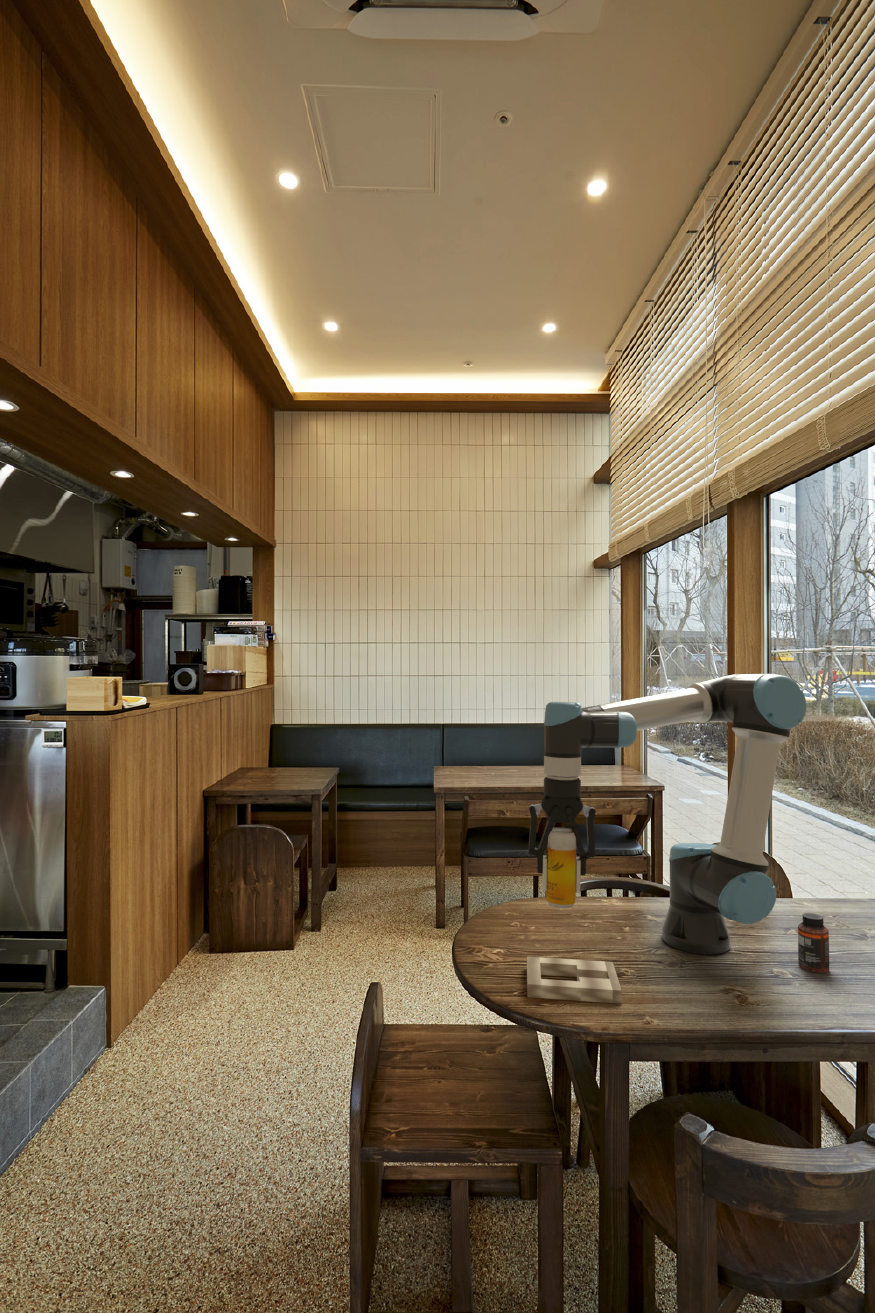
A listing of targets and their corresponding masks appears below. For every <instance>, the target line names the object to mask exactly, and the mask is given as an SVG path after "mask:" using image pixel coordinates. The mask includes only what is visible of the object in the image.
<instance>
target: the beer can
mask: <svg viewBox="0 0 875 1313" xmlns="http://www.w3.org/2000/svg"><path fill="white" fill-rule="evenodd" d="M545 852H546V854H545V856H546V858H547V886H546V891H545V900H546V902H547V903H548V905H549V906H550V907H553V908H557V909H570V908H572V907H573V906H575V904H576V902H577V893H576V857H578V856H577V852H578V849H577V845H576V837H575V835H574V832H572V829H571V828H567V827H553V829H552V832H551V831H550V834H549V836H548V844H547V847H546V850H545Z"/></svg>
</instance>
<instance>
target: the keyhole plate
mask: <svg viewBox="0 0 875 1313" xmlns="http://www.w3.org/2000/svg"><path fill="white" fill-rule="evenodd" d="M613 962H614V961H606V960H605V961H603V960H602V961H601V960H590V959H589V960H587V959H571V958H557V957H556V958H555V957H554V958H553V957H542V956H541V957H538V956H526V983H527V984H526V988H527V990H526V991H527V998H534V999H535V998H536V999H549V1000H563V1001H564V1000H565V1001H577V1002H579V1001H580V1002H589V1003H590V1002H593V1003H603V1004H604V1003H607V1004H621V1005H622V1004H623V1000H622V998H623V997H622V996H623V994H622V993H623V992H622V988H621V987H622V986H621V985H620V981H619V978H618V975H617V971H616V969H615V965H614V963H613ZM542 976H555V977H568V978H569V977H570V978H576V980H563V979H548V978H542Z"/></svg>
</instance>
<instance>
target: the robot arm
mask: <svg viewBox="0 0 875 1313" xmlns="http://www.w3.org/2000/svg"><path fill="white" fill-rule="evenodd" d="M544 709H545V710H544V720H543V726H544V727H543V728H544V729H543V730H544V732H543V733H544V734H543V735H544V737H543V738H544V754H543V755H544V756H543V774H544V775H545V777H544V779H543V798H542V800H541V802H540V803H537V804H533V803H530V804H529V805H528V809H529V814H530V826H529V837H528V838H529V839H528V854H529V855H533V856H534V857H536V871H537V874H542V875H541V876H542V878H541V879H542V880H541V881H542V883H541V886H542V892H546V886H547V858H546V855H545V852H546V849H547V844H548V836H549V834H550V831H551V832H552V829H553V828H555V827H554V826H555V824H560V823H565V824H569V826H570V829H572V832H574V835H575V837H576V845H577V852H578V855H579V856H577V857H576V894H581V876H586V873H587V860H588V859H589V858H594V857H595V858H596V843H595V841H596V840H595V824H594V819H595V816H596V814H597V811H596V808H594V806H591V805H590V806H588V805H585V804H583V801H582V797H581V795H582V792H581V791H582V780H581V779H580V777H581V775H582V749H583V748H584V749H588V748H596V749H597V748H613V749H615V748H616V749H619V748H628V747H631V746H632V745H633V744H634V743H635V741H636V739H637V736H638V732H639V731H644V730H650V729H655V728H661V727H664V726H671V725H676V724H677V725H678V724H682V723H687V722H691V721H696V722H697V723H700V724H704V723H709V722H722V723H723V722H725V723H732V725H731V726H732V727H731V730H732V731H733V733H734V734H735V735H736V737H737V740H736V746H735V754H734V758H733V765H732V770H731V775H730V776H731V777H730V781H729V788H728V793H727V794H728V795H727V800H726V806H725V807H726V808H725V813H724V819H723V825H722V832H721V836H720V841H719V842H720V843H718V844H714V843H713V844H712V843H703V842H701V843H700V842H686V843H685V842H683V843H676V844H674V845H672V847H671V848H670V849H669V850H670V851H669V859H668V862H669V907H668V910H667V913H666V916H665V919H664V922H663V924H662V928H661V939H662V940H663V942H664V943H666V944H668V945H669V946H670V947H672V948H674V949H678V950H680V951H682V952H687V953H691V954H698V955H720V954H723V953H726V952H728V951H729V950H730V948H731V938H730V932H729V930H728V927H727V924H726V921H725V918H726V919H728V920H730V921H733V922H736V923H738V924H741V925H753V924H754V925H755V924H757V923H759V922H761V921H762V919H764V918H767V917H768V915H769V914H770V913H771V912H772V910H773V908H774V907H775V904H776V901H777V887H776V886H775V885H774V881H773V880H772V879H771V878H770V877H769V875H768V870H769V866H770V865H769V861H768V860H767V859H766V857H765V856H764V854H763V852H764V846H765V842H766V841H765V840H766V833H767V827H768V821H769V816H770V808H771V803H772V798H773V797H772V796H773V791H774V790H773V789H774V784H775V780H776V772H777V765H778V759H779V753H780V746H781V745H783V744H784V743H786V742H787V741H788V740H790V734H791V729H794V728H796V727H798V726H799V724H800V723H802V721H803V720H804V718H805V716H806V713H807V700H806V695H805V693H804V691H803V689H802V688H800V686H799V684H798V683H797V682H796V681H795V680H794V679H793V678H792V677H789V676H786V675H782V674H775V673H768V672H767V673H752V674H751V673H749V674H747V673H746V674H744V673H743V674H742V673H736V674H735V673H734V674H731V675H726V676H721V677H718V678H713V679H710V680H704V681H701V682H697V683H696V682H695V683H692V684H690V685H689V686H688V688H687V689H681V690H676V691H675V690H674V691H670V692H669V691H668V692H664V693H659V694H653V695H646V696H642V697H636V698H631V699H625V700H620V701H618V700H617V701H615V702H608V703H603V704H598V705H592V706H587V707H586V706H585V707H583V706H582V704H581V703H580V702H576V701H575V702H574V701H551V702H548V703H547V704H546V705H545V708H544ZM541 810H543V811H544V812H545V814H546V816H547V820H546V823H545V827H544V830H543V834H542V835H541V840H540V842H539V845H538V848H536V838H537V825H538V816H539V815H540V814H541ZM581 812H583V815H584V817H586V818H585V820H586V821H585V822H586V823H585V824H586V836H587V837H586V839H587V841H586V842H587V850H585V848H584V844H583V842H582V839H581V835H580V832H579V829H578V825H577V822H576V818H578V815H580V813H581Z"/></svg>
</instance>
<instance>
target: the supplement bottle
mask: <svg viewBox="0 0 875 1313" xmlns="http://www.w3.org/2000/svg"><path fill="white" fill-rule="evenodd" d="M797 947H798V948H797V953H798V954H797V955H798V957H797V958H798V966H799V967H800V968H801V969H803V970H805V971H807V970H808V972H811V973H815V974H824V973H828V972H829V970H830V931H829V929H828V928H827V927H826V926H825V925H824V917H823V916H822V915H820V914H819V913H814V912H804V913H803V914H802V922H801V923H799V924H798V925H797Z"/></svg>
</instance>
